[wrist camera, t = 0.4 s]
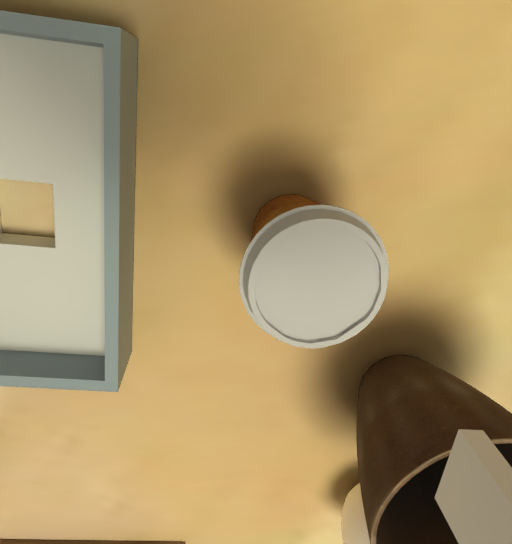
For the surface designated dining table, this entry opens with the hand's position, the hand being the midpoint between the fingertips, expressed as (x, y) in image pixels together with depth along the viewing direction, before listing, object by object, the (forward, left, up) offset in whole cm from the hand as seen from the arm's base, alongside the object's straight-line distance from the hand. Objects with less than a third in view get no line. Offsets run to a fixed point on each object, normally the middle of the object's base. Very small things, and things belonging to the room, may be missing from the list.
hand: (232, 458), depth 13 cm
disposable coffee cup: (+1, +6, -27) cm, 27 cm away
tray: (+1, -15, -26) cm, 30 cm away
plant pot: (+16, +19, -27) cm, 36 cm away
